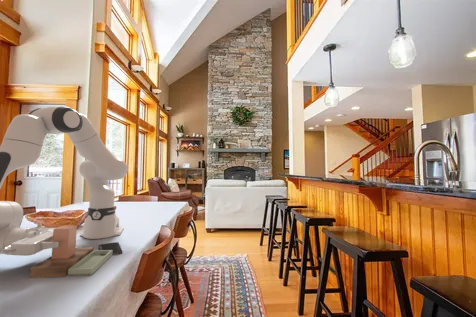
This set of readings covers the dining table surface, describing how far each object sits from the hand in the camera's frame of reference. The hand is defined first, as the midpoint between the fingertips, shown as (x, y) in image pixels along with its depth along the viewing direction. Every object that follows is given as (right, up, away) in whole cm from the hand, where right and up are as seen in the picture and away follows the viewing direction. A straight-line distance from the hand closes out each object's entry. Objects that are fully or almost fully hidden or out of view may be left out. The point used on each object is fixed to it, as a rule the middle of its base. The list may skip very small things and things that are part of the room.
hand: (67, 240), depth 85 cm
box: (+9, -9, 0) cm, 12 cm away
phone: (+7, -10, +16) cm, 20 cm away
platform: (0, -8, -1) cm, 9 cm away
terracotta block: (-1, -5, 0) cm, 6 cm away
